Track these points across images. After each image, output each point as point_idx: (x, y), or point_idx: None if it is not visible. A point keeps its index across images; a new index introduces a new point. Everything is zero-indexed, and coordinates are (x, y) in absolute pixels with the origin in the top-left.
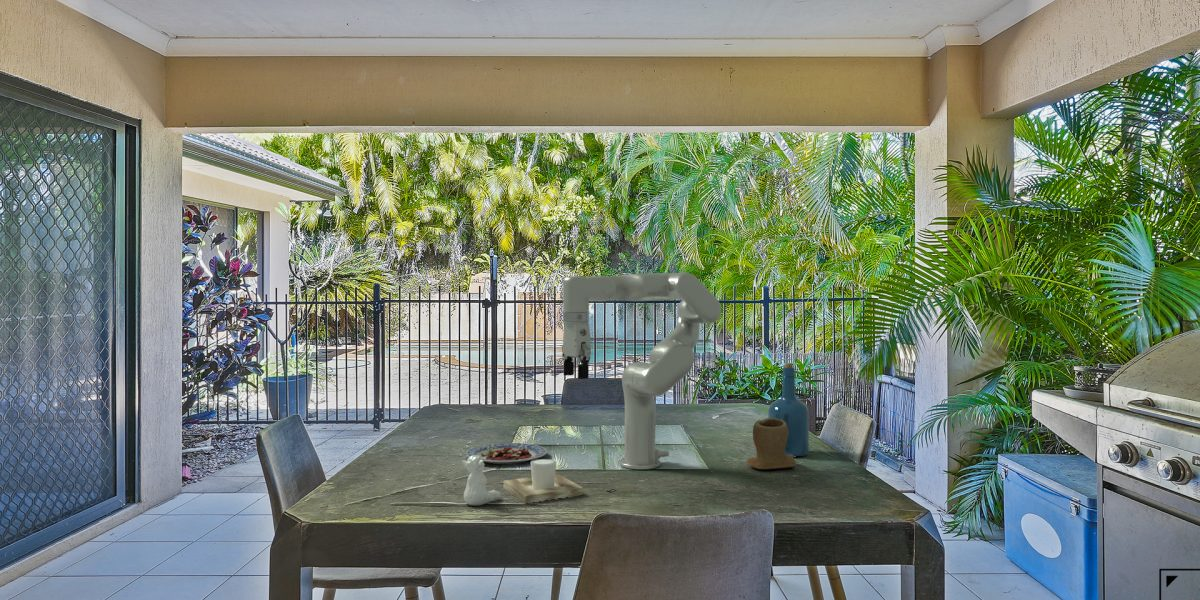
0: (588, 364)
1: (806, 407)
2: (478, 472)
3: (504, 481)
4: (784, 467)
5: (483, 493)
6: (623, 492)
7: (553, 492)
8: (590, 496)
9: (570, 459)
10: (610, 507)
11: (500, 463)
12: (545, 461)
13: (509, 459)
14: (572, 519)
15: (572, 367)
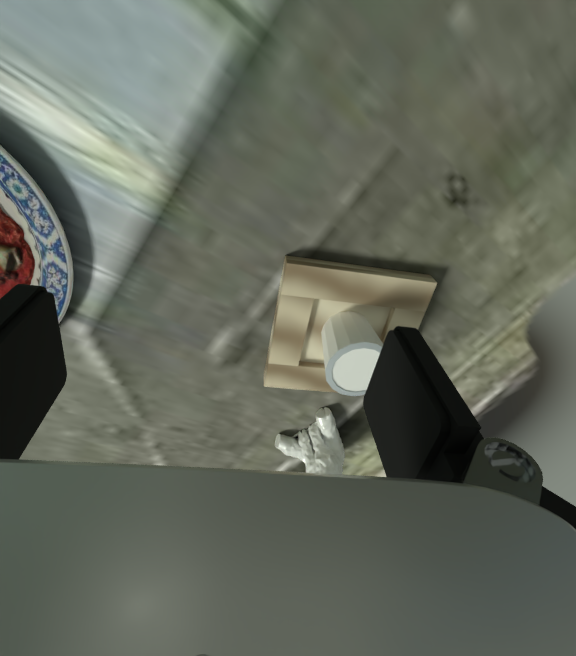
0: (507, 447)
1: None
2: None
3: (270, 386)
4: None
5: (343, 451)
6: (494, 174)
7: None
8: (448, 264)
9: (35, 41)
10: (536, 275)
11: None
12: (357, 364)
13: (19, 272)
14: (515, 364)
15: (10, 354)
